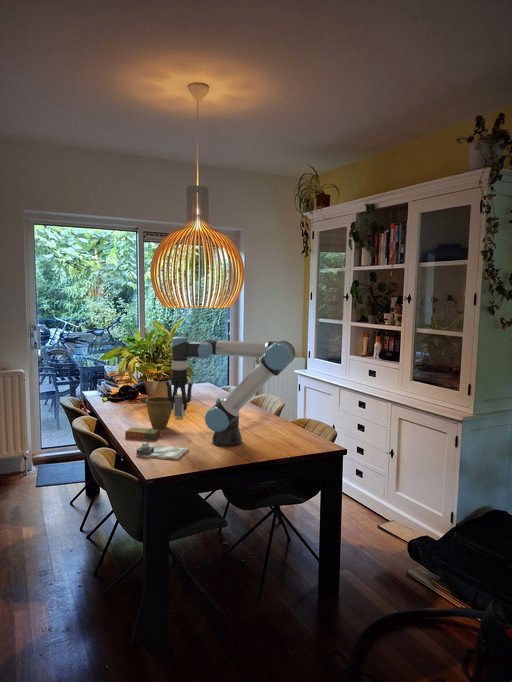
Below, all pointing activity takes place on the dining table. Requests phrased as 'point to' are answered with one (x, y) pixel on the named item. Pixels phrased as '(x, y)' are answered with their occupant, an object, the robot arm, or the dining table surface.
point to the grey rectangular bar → (178, 407)
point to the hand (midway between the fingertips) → (179, 415)
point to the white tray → (162, 452)
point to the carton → (142, 434)
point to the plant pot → (159, 411)
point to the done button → (145, 446)
